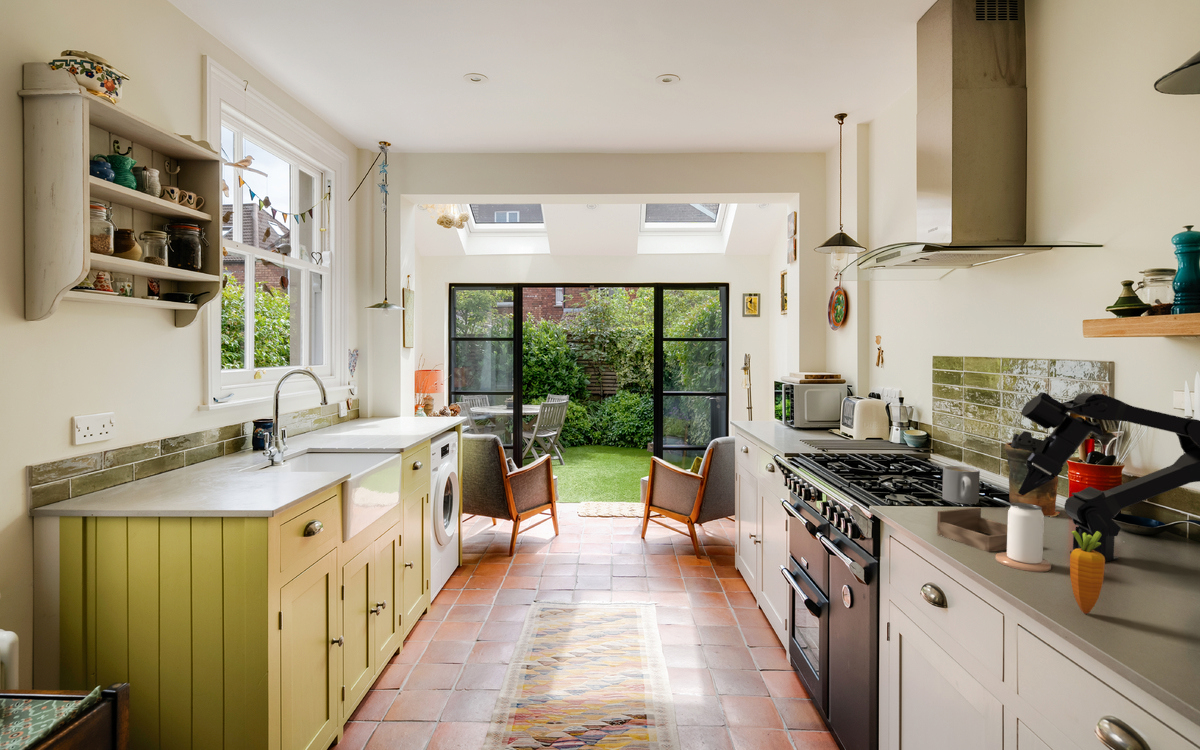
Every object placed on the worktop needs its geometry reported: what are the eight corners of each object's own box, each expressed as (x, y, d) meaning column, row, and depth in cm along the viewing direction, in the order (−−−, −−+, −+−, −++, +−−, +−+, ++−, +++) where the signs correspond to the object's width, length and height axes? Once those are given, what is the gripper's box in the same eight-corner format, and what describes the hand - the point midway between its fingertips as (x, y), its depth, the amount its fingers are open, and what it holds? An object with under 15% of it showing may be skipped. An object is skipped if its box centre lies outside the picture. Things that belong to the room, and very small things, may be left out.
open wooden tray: (1031, 546, 144) (1031, 521, 144) (988, 551, 139) (989, 526, 139) (977, 529, 157) (978, 507, 157) (937, 534, 152) (937, 511, 152)
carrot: (1061, 610, 107) (1064, 527, 107) (1079, 606, 109) (1082, 525, 109) (1092, 621, 103) (1095, 535, 102) (1110, 617, 105) (1113, 532, 104)
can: (1011, 552, 136) (1012, 500, 136) (1045, 560, 131) (1047, 506, 131) (1002, 559, 132) (1004, 505, 131) (1038, 567, 127) (1039, 511, 127)
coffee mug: (941, 494, 197) (942, 464, 196) (977, 498, 192) (978, 467, 192) (943, 503, 185) (944, 471, 185) (981, 507, 180) (982, 474, 180)
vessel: (1068, 520, 166) (1068, 449, 166) (1006, 514, 173) (1006, 446, 173) (1060, 509, 179) (1060, 443, 178) (1002, 504, 186) (1002, 440, 185)
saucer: (1062, 568, 129) (1062, 564, 129) (1029, 573, 125) (1029, 570, 125) (1016, 553, 138) (1016, 550, 138) (984, 558, 135) (984, 554, 135)
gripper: (1028, 424, 149) (987, 473, 152) (1028, 416, 134) (984, 471, 137) (1076, 450, 143) (1033, 502, 146) (1082, 445, 128) (1034, 503, 131)
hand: (1020, 494), depth 140 cm, fingers open, 9 cm apart
